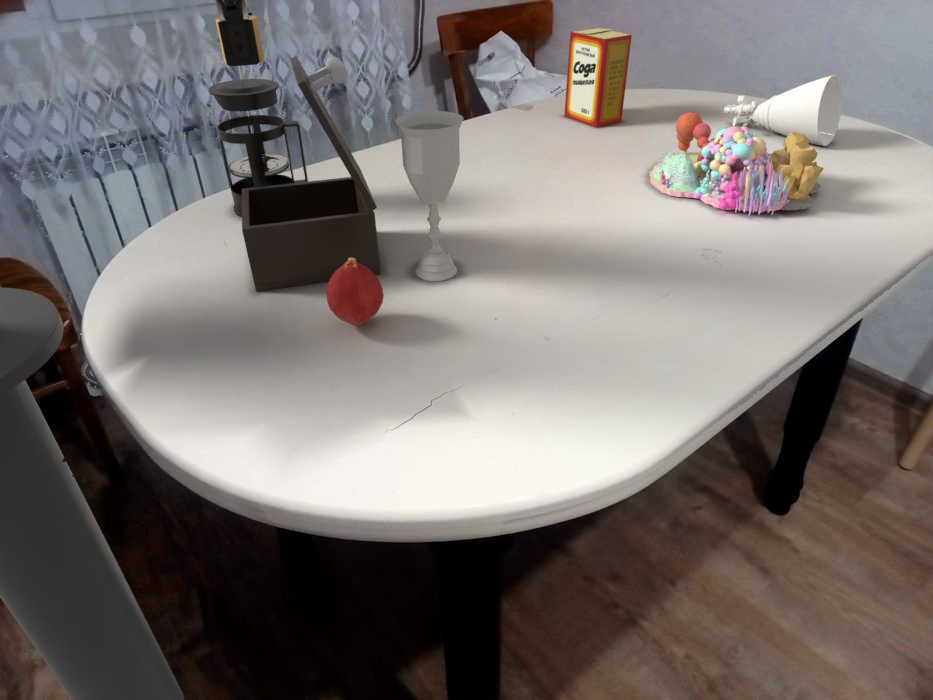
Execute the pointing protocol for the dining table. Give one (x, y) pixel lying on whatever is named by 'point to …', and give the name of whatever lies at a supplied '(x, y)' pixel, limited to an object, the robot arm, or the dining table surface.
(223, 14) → the robot arm
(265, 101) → the french press
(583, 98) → the baking soda box
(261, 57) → the pod
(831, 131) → the rocket engine
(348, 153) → the wooden box lid
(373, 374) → the dining table surface
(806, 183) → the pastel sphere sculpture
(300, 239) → the dark brown wooden crate
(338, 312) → the red fruit
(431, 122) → the chalice
